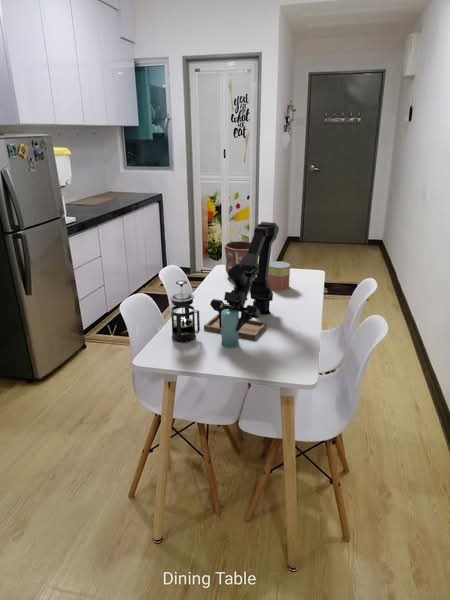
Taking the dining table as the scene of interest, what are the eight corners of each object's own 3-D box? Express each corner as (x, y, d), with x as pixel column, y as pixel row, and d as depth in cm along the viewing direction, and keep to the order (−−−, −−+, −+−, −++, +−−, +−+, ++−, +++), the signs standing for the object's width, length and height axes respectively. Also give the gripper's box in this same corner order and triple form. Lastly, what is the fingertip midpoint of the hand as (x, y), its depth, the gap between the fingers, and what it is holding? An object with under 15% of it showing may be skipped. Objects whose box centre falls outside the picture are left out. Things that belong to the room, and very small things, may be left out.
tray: (218, 317, 187) (218, 313, 186) (266, 326, 178) (266, 322, 177) (204, 329, 176) (203, 325, 175) (254, 339, 167) (254, 335, 166)
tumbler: (236, 339, 168) (236, 308, 163) (240, 347, 162) (240, 315, 157) (219, 340, 166) (219, 309, 162) (223, 348, 160) (222, 316, 156)
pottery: (219, 280, 232) (219, 247, 225) (230, 270, 247) (230, 239, 240) (251, 284, 226) (252, 251, 219) (260, 274, 241) (261, 242, 234)
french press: (166, 340, 167) (162, 284, 158) (175, 330, 175) (172, 276, 166) (195, 344, 164) (193, 287, 155) (203, 334, 172) (201, 279, 163)
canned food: (276, 281, 229) (276, 260, 225) (293, 286, 222) (294, 264, 217) (262, 287, 222) (263, 264, 217) (280, 292, 214) (281, 269, 210)
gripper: (211, 278, 162) (198, 316, 157) (258, 286, 155) (245, 325, 150) (221, 291, 172) (208, 327, 167) (265, 299, 164) (253, 337, 159)
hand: (228, 329), depth 160 cm, fingers closed on tumbler, 6 cm apart
